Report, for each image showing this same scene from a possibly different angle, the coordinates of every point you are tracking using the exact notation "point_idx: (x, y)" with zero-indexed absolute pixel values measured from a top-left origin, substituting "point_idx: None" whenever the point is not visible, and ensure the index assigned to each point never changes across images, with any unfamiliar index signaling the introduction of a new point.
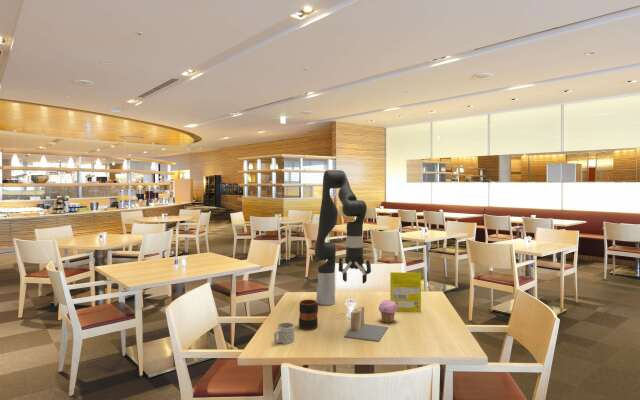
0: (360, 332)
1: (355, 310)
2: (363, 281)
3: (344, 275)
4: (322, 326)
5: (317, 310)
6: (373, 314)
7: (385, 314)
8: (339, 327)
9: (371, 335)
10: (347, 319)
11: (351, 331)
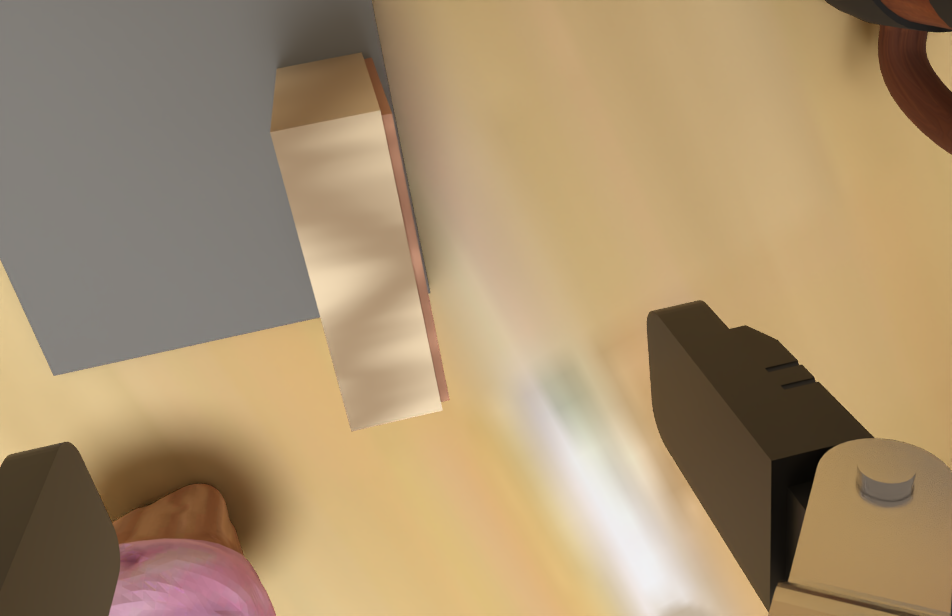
0: (216, 30)
1: (368, 220)
2: (12, 478)
3: (770, 405)
4: (741, 10)
5: (927, 116)
6: (411, 600)
7: (157, 536)
8: (547, 88)
9: (31, 3)
10: (578, 356)
11: (333, 2)
